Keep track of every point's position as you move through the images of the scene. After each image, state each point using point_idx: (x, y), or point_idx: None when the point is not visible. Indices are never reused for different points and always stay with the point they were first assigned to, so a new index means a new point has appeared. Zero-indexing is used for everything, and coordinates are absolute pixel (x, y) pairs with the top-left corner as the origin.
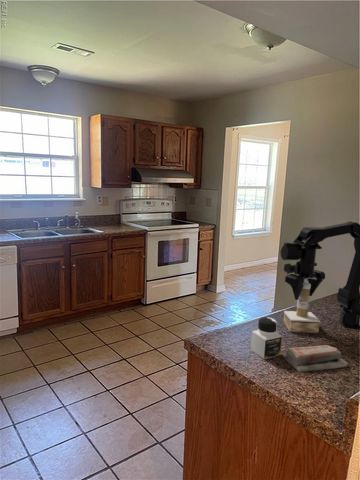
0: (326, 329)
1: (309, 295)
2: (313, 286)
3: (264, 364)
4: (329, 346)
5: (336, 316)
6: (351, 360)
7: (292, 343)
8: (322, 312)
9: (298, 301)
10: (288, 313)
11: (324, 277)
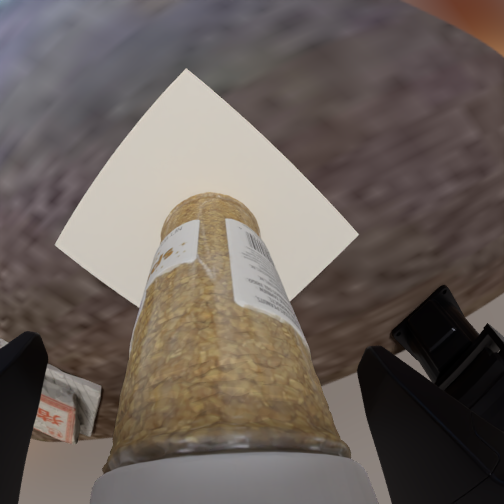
0: (307, 302)
1: (364, 356)
2: (411, 496)
3: None
4: (66, 425)
5: (487, 248)
6: None
7: (20, 288)
8: (499, 183)
9: (144, 292)
10: (151, 138)
11: None
